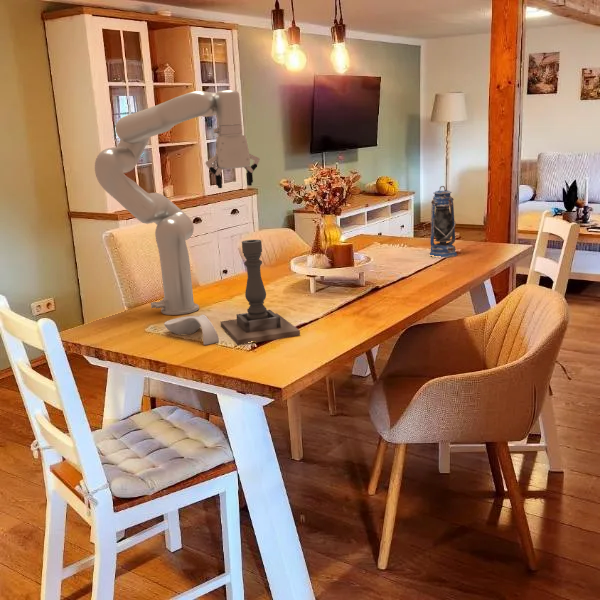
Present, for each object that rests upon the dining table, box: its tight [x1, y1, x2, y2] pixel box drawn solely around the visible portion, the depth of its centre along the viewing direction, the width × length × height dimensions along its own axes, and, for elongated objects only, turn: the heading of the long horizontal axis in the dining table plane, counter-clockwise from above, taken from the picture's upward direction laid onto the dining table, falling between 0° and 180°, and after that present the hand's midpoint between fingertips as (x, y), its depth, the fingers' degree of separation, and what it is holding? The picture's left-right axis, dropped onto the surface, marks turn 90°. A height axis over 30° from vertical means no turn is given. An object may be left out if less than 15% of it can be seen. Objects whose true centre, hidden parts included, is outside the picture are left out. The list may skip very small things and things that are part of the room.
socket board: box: [220, 309, 301, 346], centre depth 202 cm, size 18×22×4 cm
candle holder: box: [241, 239, 268, 321], centre depth 199 cm, size 6×6×25 cm
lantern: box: [429, 185, 458, 259], centre depth 298 cm, size 15×12×30 cm
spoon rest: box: [163, 314, 220, 346], centre depth 201 cm, size 24×12×7 cm, turn 35°
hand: (234, 186), depth 220 cm, fingers open, 9 cm apart
